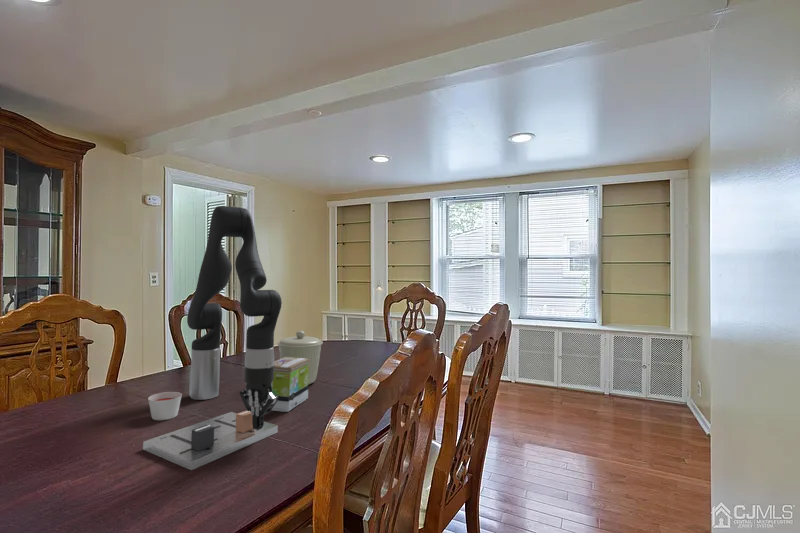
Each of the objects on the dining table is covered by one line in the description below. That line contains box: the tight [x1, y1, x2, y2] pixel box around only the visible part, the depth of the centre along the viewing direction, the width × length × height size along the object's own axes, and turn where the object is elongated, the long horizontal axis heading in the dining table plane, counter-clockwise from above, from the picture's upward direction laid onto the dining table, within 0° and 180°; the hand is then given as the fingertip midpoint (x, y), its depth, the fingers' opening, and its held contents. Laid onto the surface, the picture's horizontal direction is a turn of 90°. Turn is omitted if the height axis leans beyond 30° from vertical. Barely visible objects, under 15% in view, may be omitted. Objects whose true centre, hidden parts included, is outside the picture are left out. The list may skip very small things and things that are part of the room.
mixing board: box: [142, 411, 279, 471], centre depth 110 cm, size 20×26×2 cm
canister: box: [276, 330, 324, 385], centre depth 167 cm, size 18×18×21 cm
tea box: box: [271, 357, 310, 413], centre depth 141 cm, size 15×10×15 cm
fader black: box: [191, 425, 214, 451], centre depth 101 cm, size 3×4×5 cm
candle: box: [147, 391, 183, 421], centre depth 127 cm, size 9×9×6 cm
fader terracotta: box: [236, 409, 253, 433], centre depth 113 cm, size 3×4×5 cm
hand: (257, 428), depth 110 cm, fingers closed
